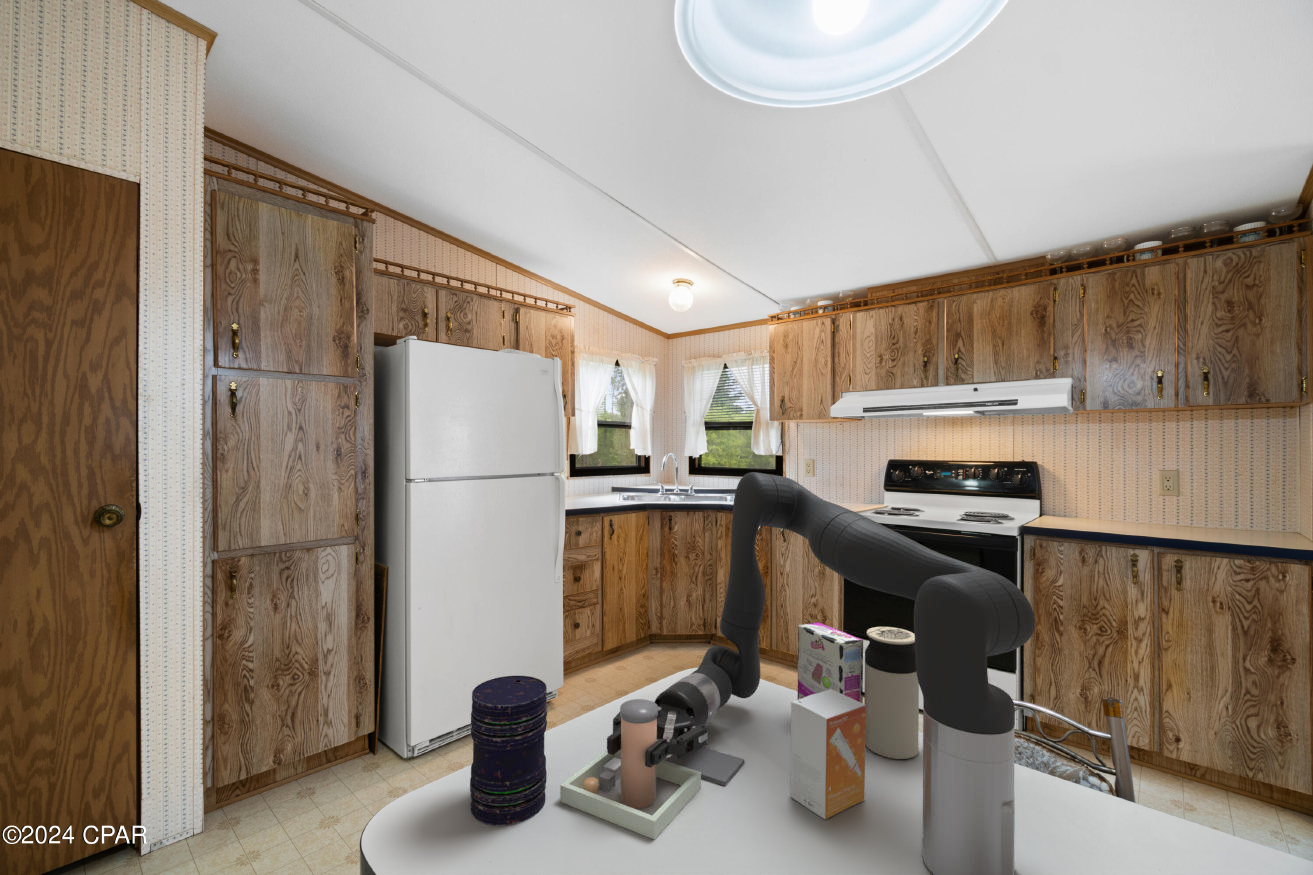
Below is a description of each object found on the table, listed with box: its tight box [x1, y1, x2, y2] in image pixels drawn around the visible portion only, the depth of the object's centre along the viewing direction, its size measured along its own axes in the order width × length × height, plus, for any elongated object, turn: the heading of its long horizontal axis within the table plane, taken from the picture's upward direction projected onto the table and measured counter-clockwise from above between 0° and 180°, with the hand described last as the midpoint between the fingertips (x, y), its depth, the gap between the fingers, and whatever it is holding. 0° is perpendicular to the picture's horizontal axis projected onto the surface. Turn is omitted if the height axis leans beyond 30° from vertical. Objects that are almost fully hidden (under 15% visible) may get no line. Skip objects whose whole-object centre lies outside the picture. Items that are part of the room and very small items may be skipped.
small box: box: [789, 689, 866, 820], centre depth 81 cm, size 8×6×13 cm
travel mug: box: [864, 626, 920, 760], centre depth 95 cm, size 8×8×18 cm
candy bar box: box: [796, 622, 864, 704], centre depth 101 cm, size 11×5×16 cm, turn 25°
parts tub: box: [559, 749, 702, 840], centre depth 81 cm, size 15×13×2 cm
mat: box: [665, 743, 745, 787], centre depth 89 cm, size 10×7×1 cm
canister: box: [619, 698, 658, 809], centre depth 81 cm, size 5×5×12 cm
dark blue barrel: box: [469, 675, 548, 827], centre depth 79 cm, size 10×10×15 cm
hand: (628, 753), depth 79 cm, fingers open, 5 cm apart
